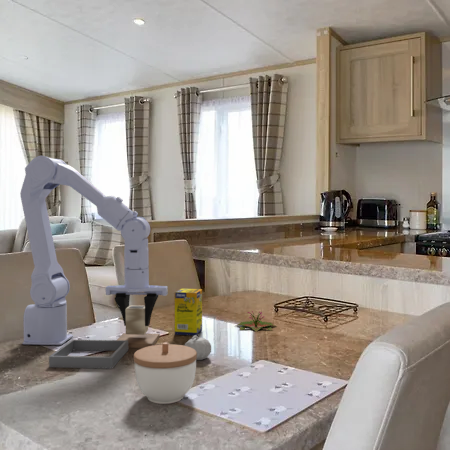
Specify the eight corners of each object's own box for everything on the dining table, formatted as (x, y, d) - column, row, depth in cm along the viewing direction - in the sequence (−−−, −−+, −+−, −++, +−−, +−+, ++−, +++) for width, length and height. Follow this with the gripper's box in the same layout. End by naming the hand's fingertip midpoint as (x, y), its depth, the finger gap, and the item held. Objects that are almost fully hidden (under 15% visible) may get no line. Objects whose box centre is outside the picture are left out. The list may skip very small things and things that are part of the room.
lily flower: (277, 323, 145) (277, 307, 144) (279, 334, 133) (279, 316, 132) (234, 322, 145) (234, 306, 145) (232, 333, 133) (232, 316, 133)
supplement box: (197, 336, 129) (196, 292, 129) (174, 335, 130) (173, 291, 130) (202, 330, 135) (202, 288, 135) (180, 329, 136) (180, 288, 136)
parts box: (125, 334, 121) (125, 308, 121) (130, 329, 126) (130, 304, 125) (144, 334, 121) (144, 308, 121) (148, 330, 125) (148, 305, 125)
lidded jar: (136, 387, 94) (136, 335, 93) (196, 385, 94) (195, 334, 94) (131, 410, 83) (130, 353, 82) (197, 408, 84) (197, 351, 83)
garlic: (190, 364, 107) (190, 339, 106) (180, 357, 111) (180, 333, 111) (216, 360, 109) (216, 336, 109) (205, 353, 114) (205, 330, 114)
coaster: (113, 347, 119) (113, 343, 119) (123, 337, 128) (123, 333, 128) (152, 347, 119) (152, 343, 119) (159, 337, 128) (159, 333, 128)
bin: (49, 367, 105) (49, 356, 105) (72, 349, 118) (72, 339, 118) (112, 368, 104) (112, 357, 104) (128, 350, 117) (128, 340, 117)
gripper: (101, 270, 119) (102, 328, 120) (163, 270, 118) (164, 329, 119) (110, 266, 126) (110, 321, 127) (169, 266, 125) (169, 322, 126)
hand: (137, 324), depth 123 cm, fingers closed on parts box, 4 cm apart
